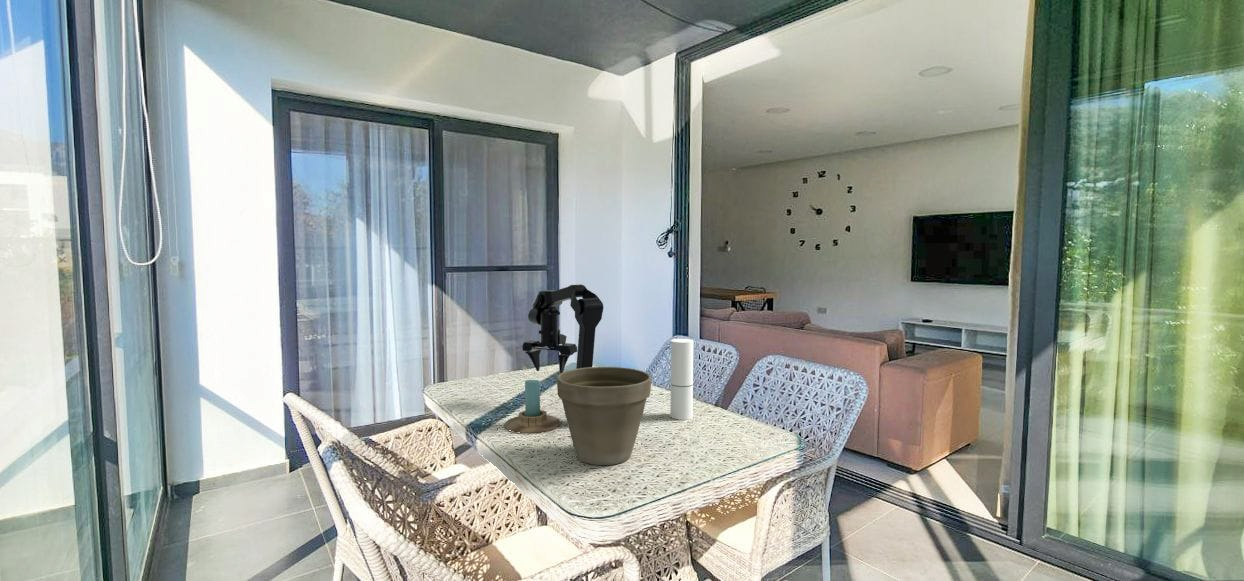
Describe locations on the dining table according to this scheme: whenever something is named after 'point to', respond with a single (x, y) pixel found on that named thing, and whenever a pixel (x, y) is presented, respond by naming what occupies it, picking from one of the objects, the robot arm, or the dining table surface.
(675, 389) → the cylindrical container
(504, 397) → the dining table surface
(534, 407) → the teal peg
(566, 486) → the dining table surface
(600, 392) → the plant pot
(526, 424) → the walnut stand
